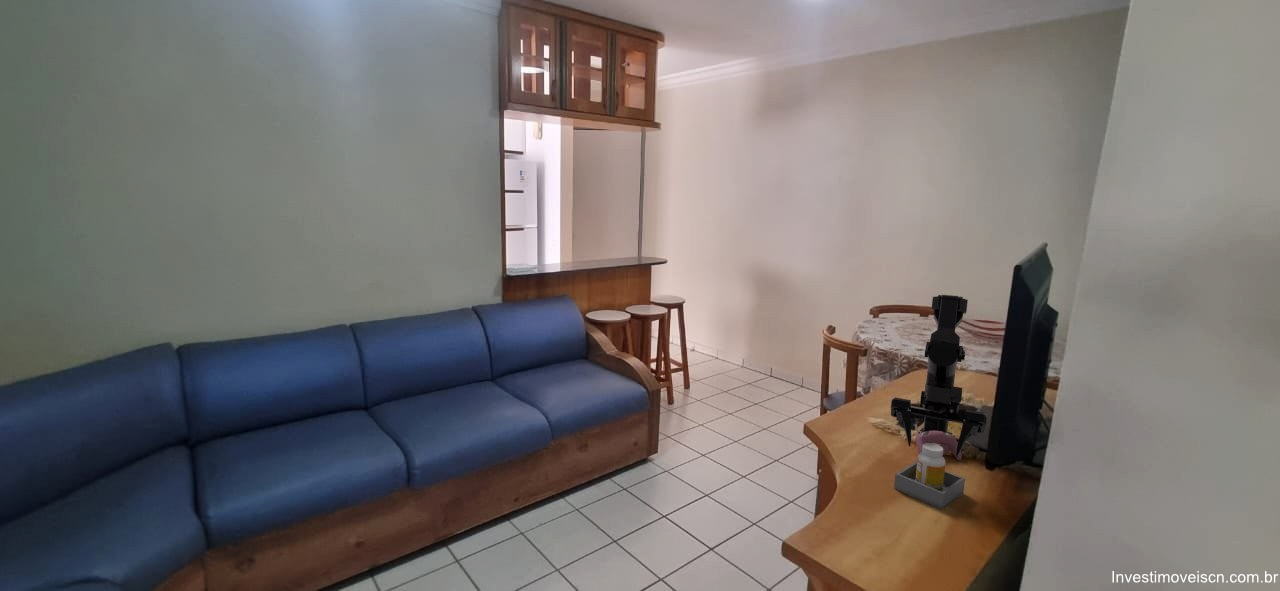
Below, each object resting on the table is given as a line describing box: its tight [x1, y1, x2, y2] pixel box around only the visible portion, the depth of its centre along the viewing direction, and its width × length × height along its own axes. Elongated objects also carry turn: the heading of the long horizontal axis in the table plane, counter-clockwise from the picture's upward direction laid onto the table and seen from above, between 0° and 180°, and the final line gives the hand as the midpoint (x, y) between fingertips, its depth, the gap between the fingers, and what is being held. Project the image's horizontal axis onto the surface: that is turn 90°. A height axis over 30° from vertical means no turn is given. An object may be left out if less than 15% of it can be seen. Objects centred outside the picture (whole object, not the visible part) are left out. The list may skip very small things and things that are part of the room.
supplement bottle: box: [915, 443, 946, 492], centre depth 118 cm, size 5×5×10 cm
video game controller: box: [914, 431, 962, 461], centre depth 135 cm, size 10×5×7 cm, turn 85°
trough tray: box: [893, 460, 966, 510], centre depth 119 cm, size 10×10×4 cm
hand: (932, 450), depth 119 cm, fingers open, 9 cm apart
